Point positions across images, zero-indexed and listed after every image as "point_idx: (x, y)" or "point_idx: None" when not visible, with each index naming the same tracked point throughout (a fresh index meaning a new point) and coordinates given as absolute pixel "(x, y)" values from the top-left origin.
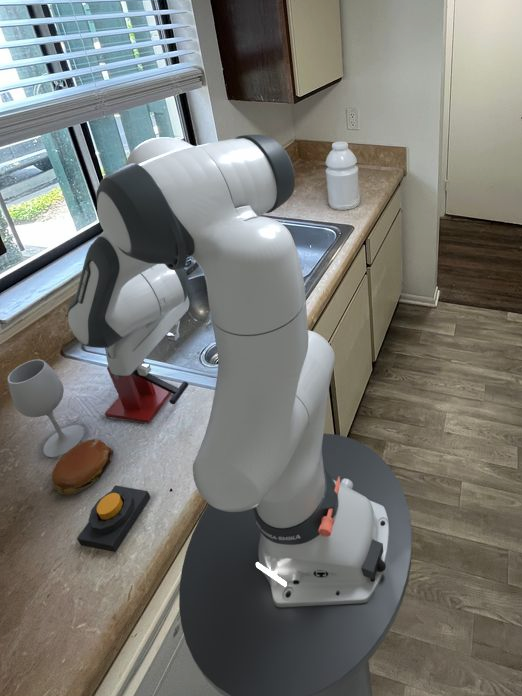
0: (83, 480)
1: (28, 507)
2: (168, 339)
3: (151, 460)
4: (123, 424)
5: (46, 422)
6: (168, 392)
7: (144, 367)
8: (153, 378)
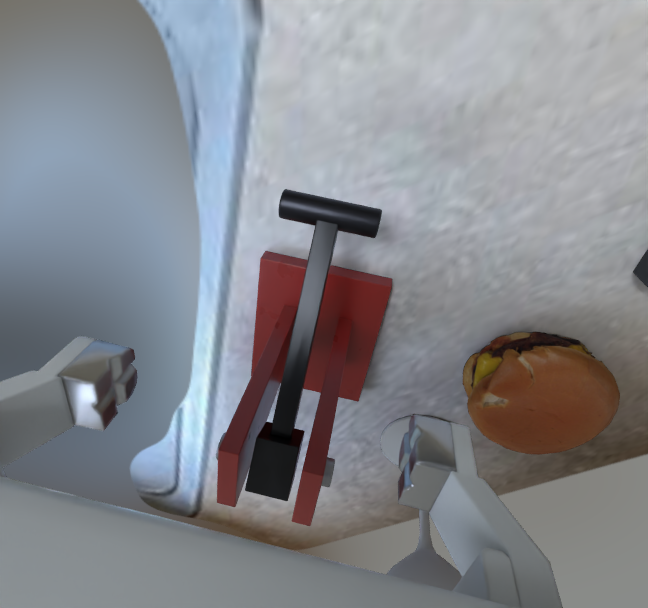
0: (611, 379)
1: (590, 445)
2: (130, 394)
3: (540, 216)
4: (387, 344)
5: (366, 486)
6: (285, 263)
7: (481, 499)
8: (301, 339)
